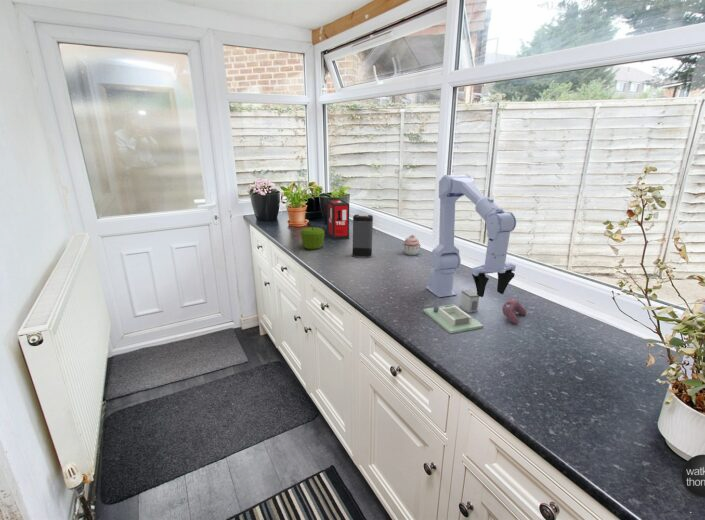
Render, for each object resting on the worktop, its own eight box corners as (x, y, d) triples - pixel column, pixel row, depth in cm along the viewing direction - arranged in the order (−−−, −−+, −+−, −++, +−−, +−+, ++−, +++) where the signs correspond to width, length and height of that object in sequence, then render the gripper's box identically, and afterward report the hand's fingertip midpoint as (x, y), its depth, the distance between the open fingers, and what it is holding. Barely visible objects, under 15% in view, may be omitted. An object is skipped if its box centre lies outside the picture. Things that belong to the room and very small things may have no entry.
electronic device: (371, 254, 186) (373, 214, 180) (371, 258, 181) (372, 217, 175) (353, 253, 187) (353, 214, 181) (352, 257, 182) (352, 216, 175)
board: (423, 311, 126) (423, 303, 125) (453, 306, 130) (454, 299, 129) (449, 333, 112) (450, 325, 111) (483, 327, 116) (484, 319, 115)
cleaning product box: (348, 238, 215) (349, 204, 208) (333, 239, 212) (333, 204, 206) (341, 232, 230) (341, 199, 223) (327, 232, 227) (326, 200, 221)
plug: (459, 306, 130) (461, 290, 128) (468, 305, 131) (470, 289, 130) (469, 313, 125) (471, 297, 123) (478, 311, 126) (480, 295, 125)
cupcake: (400, 255, 185) (401, 236, 182) (402, 250, 194) (404, 231, 191) (419, 257, 183) (421, 237, 180) (421, 252, 192) (422, 233, 189)
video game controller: (514, 316, 127) (507, 296, 127) (528, 314, 124) (521, 294, 124) (504, 326, 120) (497, 306, 120) (519, 324, 117) (511, 303, 117)
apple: (323, 251, 190) (323, 230, 186) (299, 251, 190) (298, 229, 186) (325, 244, 201) (325, 224, 198) (303, 244, 202) (302, 224, 198)
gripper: (484, 258, 106) (478, 302, 110) (525, 254, 110) (518, 296, 115) (469, 251, 112) (464, 293, 116) (508, 248, 117) (502, 288, 121)
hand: (490, 294), depth 116 cm, fingers open, 7 cm apart
